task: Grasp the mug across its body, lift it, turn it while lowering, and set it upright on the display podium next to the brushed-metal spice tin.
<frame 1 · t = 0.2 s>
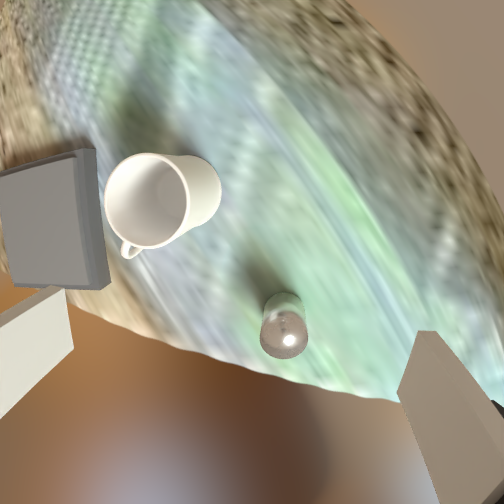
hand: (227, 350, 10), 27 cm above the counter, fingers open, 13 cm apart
mug: (178, 201, 37), on the counter
spice tin: (284, 311, 39), on the counter
podium: (53, 222, 39), on the counter
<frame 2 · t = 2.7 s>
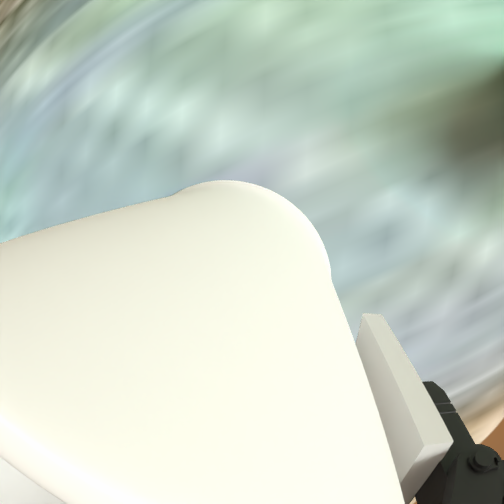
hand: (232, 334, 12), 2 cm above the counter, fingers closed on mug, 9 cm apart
mug: (252, 310, 14), on the counter, touching gripper
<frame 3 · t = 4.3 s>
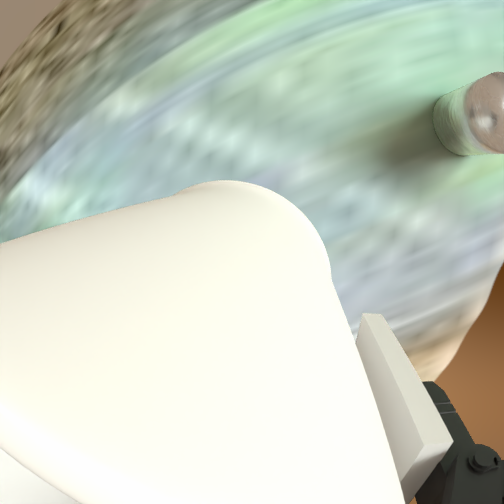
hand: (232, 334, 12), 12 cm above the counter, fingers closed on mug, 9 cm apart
mug: (252, 310, 14), point 10 cm above the counter, touching gripper
spice tin: (459, 123, 19), on the counter
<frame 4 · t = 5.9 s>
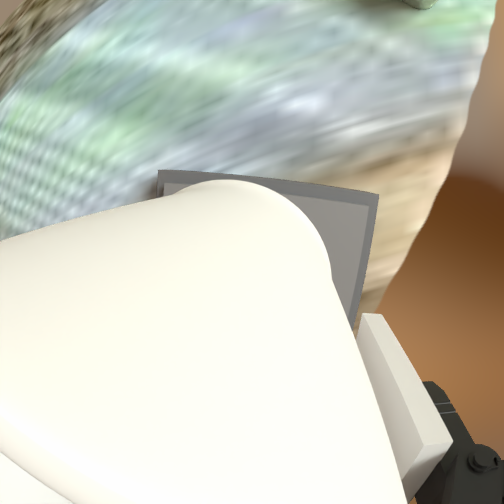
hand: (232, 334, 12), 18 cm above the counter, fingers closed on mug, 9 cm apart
mug: (253, 310, 14), point 15 cm above the counter, touching gripper
podium: (258, 276, 30), on the counter
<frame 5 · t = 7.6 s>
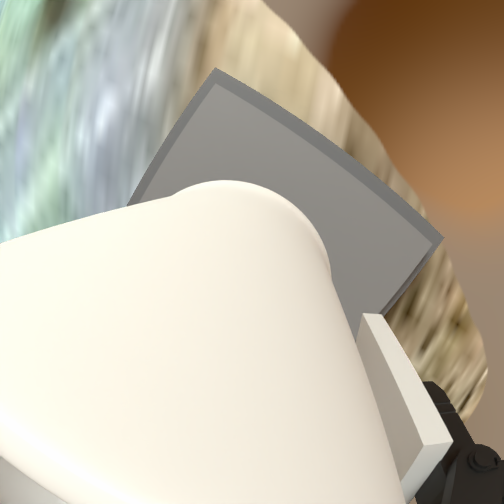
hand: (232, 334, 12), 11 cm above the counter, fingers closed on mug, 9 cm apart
mug: (252, 310, 14), point 9 cm above the counter, touching gripper
podium: (256, 256, 23), on the counter
when the fingers open (7 cm above the counter, at t = 8.9 s): mug drops 1 cm, resting on podium.
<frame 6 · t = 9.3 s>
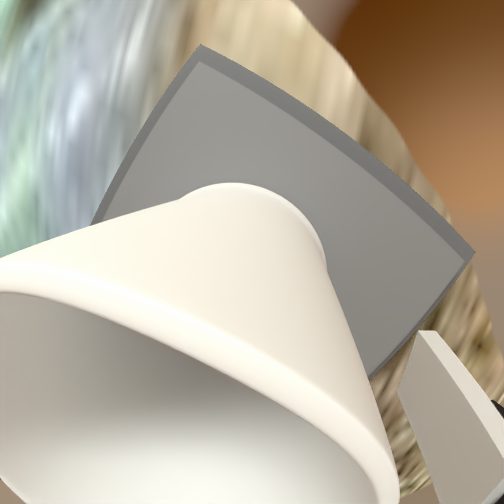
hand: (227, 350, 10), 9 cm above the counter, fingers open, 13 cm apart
mug: (255, 300, 15), point 4 cm above the counter, touching podium
podium: (252, 272, 19), on the counter
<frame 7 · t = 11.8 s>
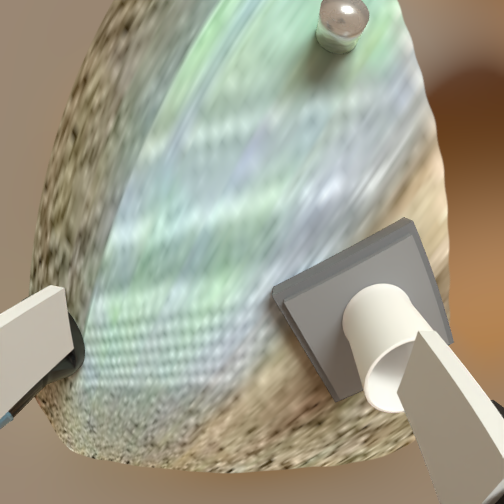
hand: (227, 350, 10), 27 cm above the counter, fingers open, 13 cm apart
mug: (378, 329, 35), point 4 cm above the counter, touching podium
spice tin: (336, 36, 30), on the counter
podium: (369, 312, 38), on the counter
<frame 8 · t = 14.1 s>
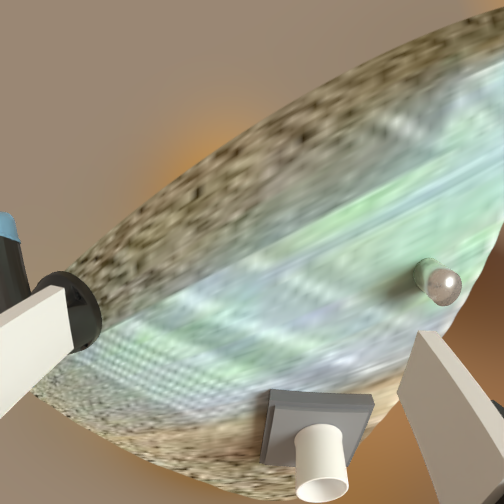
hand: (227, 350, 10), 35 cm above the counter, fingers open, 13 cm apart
mug: (314, 443, 49), point 4 cm above the counter, touching podium
spice tin: (427, 273, 44), on the counter
podium: (312, 427, 53), on the counter
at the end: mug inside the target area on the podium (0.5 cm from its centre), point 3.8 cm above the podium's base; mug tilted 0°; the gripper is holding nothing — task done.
